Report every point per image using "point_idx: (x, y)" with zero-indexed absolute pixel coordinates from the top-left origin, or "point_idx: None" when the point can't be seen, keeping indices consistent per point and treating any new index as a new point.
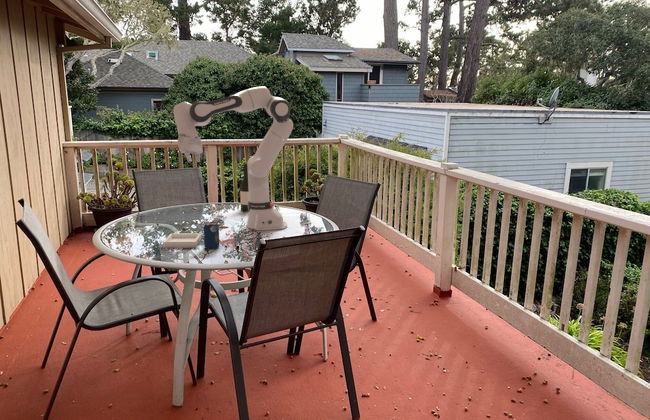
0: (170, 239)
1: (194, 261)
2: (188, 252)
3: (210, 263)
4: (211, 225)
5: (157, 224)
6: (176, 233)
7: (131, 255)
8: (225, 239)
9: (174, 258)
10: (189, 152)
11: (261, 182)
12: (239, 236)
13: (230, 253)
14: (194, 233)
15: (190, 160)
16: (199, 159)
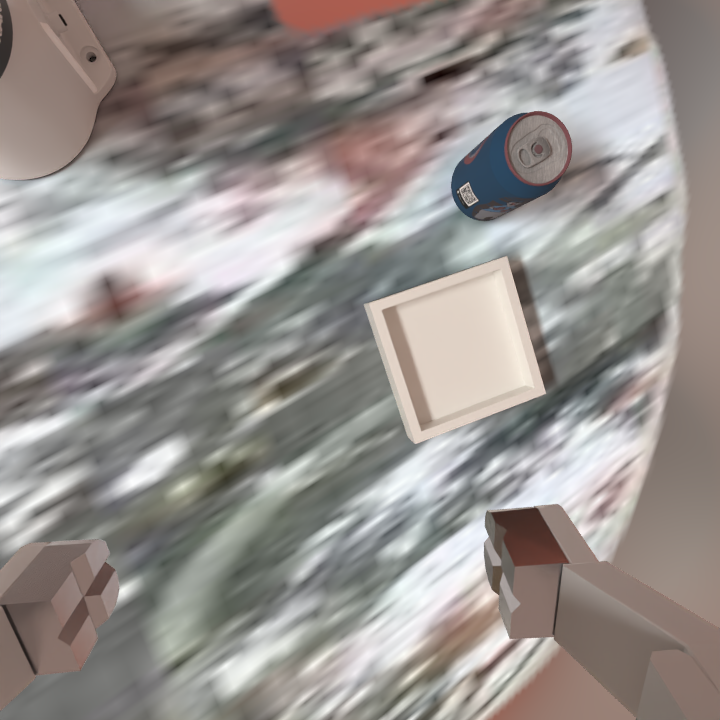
0: (455, 413)
1: (648, 179)
2: (557, 259)
3: (656, 106)
4: (566, 132)
5: (179, 666)
6: (407, 418)
7: (637, 449)
8: (336, 187)
9: (634, 273)
10: (689, 707)
11: None
12: (263, 137)
13: (529, 75)
14: (383, 334)
15: (559, 512)
16: (22, 573)
